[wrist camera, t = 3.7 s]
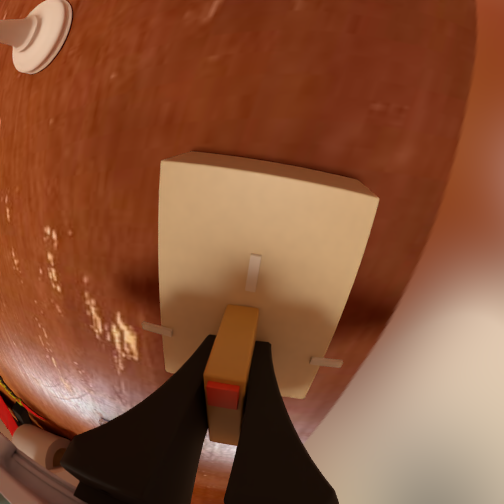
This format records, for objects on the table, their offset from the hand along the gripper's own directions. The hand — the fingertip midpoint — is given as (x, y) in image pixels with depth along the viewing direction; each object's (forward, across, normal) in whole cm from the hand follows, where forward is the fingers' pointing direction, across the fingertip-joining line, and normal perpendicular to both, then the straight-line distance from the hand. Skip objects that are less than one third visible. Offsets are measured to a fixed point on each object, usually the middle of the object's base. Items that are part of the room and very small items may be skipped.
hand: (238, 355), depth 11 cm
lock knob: (0, 0, 0) cm, 0 cm away
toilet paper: (-3, +34, +44) cm, 55 cm away
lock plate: (+3, 0, -2) cm, 4 cm away
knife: (+3, +38, +27) cm, 46 cm away
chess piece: (+4, +13, -15) cm, 20 cm away
